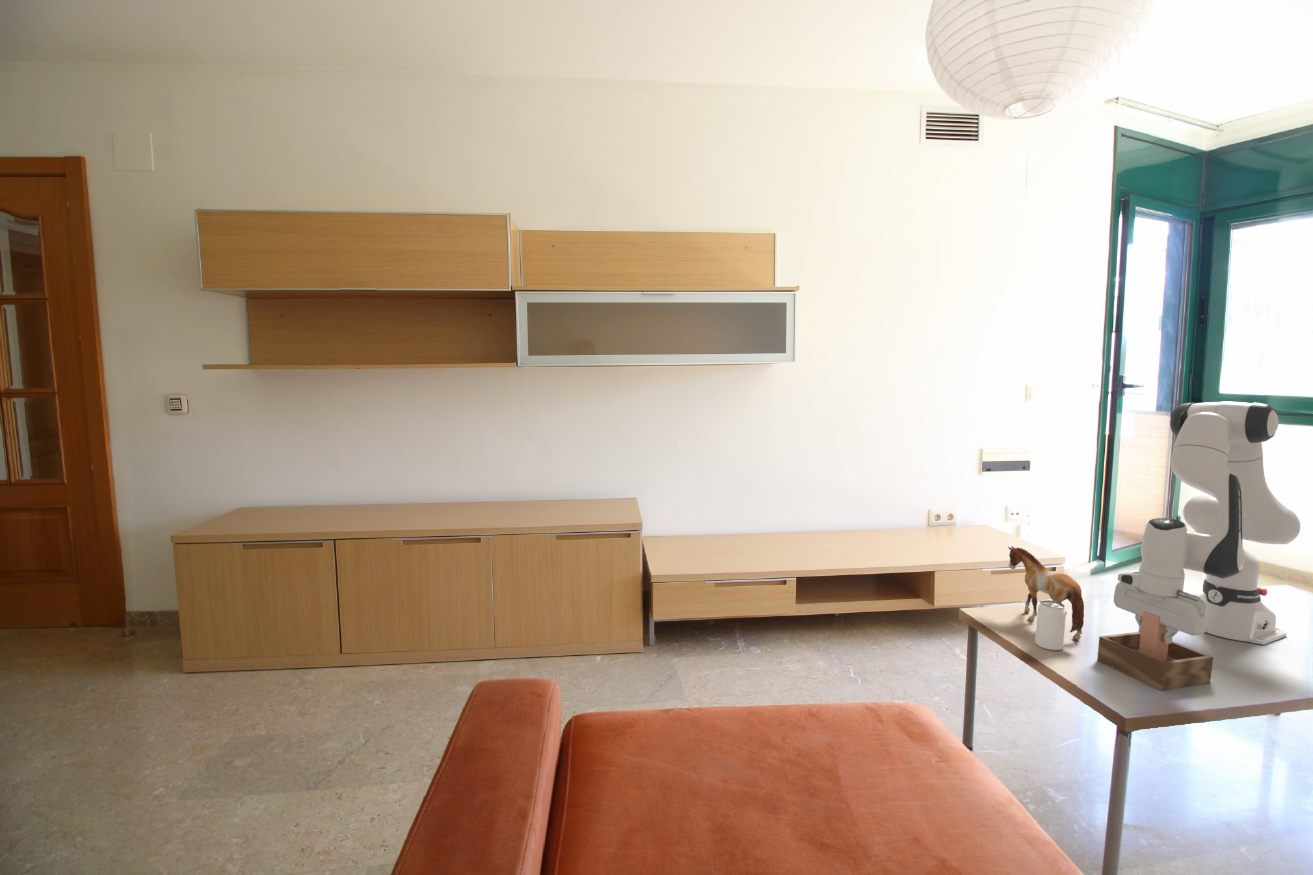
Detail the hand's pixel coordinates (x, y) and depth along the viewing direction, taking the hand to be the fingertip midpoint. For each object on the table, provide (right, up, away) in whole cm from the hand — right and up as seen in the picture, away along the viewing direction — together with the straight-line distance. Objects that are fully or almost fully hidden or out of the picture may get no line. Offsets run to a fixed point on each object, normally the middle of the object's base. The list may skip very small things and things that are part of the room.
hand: (1154, 637), depth 157 cm
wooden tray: (0, -9, +1) cm, 9 cm away
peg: (0, -6, +1) cm, 6 cm away
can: (-17, -7, +15) cm, 24 cm away
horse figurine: (-12, -6, +28) cm, 31 cm away
